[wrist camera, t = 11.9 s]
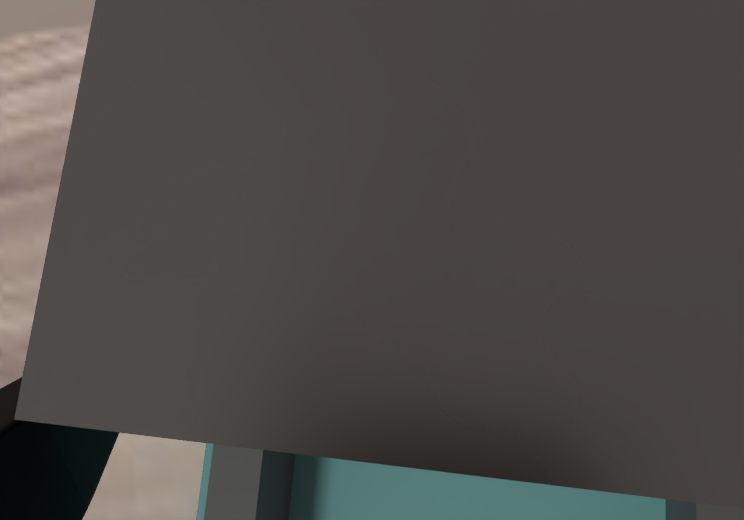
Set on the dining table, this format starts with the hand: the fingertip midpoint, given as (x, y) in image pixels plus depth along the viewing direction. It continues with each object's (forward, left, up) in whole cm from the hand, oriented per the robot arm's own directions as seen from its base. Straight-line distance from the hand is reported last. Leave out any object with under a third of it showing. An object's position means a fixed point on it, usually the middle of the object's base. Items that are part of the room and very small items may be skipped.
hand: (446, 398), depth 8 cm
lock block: (+2, -2, -9) cm, 9 cm away
